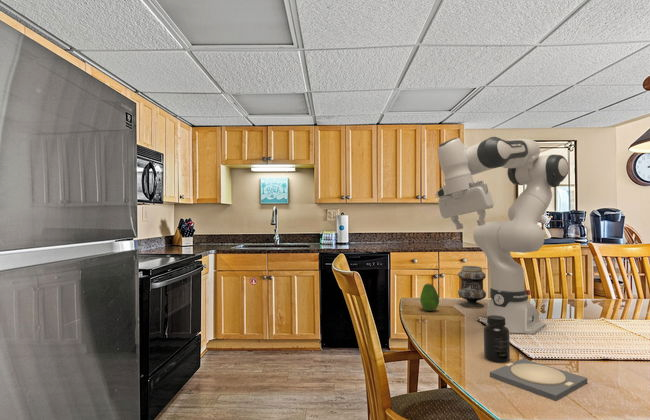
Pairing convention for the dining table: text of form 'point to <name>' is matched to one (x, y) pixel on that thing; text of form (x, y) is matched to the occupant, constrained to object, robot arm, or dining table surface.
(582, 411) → the dining table surface
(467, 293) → the apothecary jar
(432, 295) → the avocado
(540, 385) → the slate board
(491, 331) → the supplement bottle
